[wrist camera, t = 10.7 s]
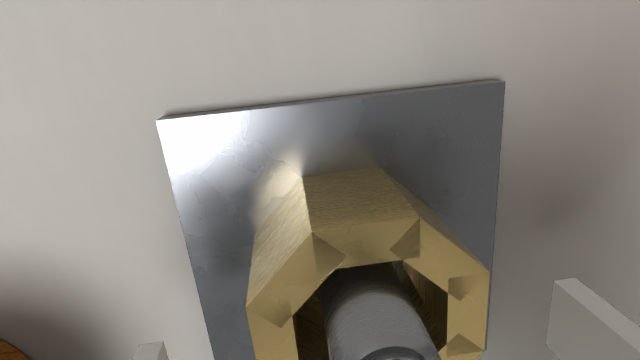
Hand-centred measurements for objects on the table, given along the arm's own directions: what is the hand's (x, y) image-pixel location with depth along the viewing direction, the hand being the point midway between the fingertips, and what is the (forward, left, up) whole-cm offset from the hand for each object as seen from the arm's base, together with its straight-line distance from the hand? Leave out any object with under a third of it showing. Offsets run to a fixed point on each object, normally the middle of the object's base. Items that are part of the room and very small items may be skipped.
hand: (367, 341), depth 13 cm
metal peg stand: (0, 0, -6) cm, 6 cm away
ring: (0, 0, -5) cm, 5 cm away
